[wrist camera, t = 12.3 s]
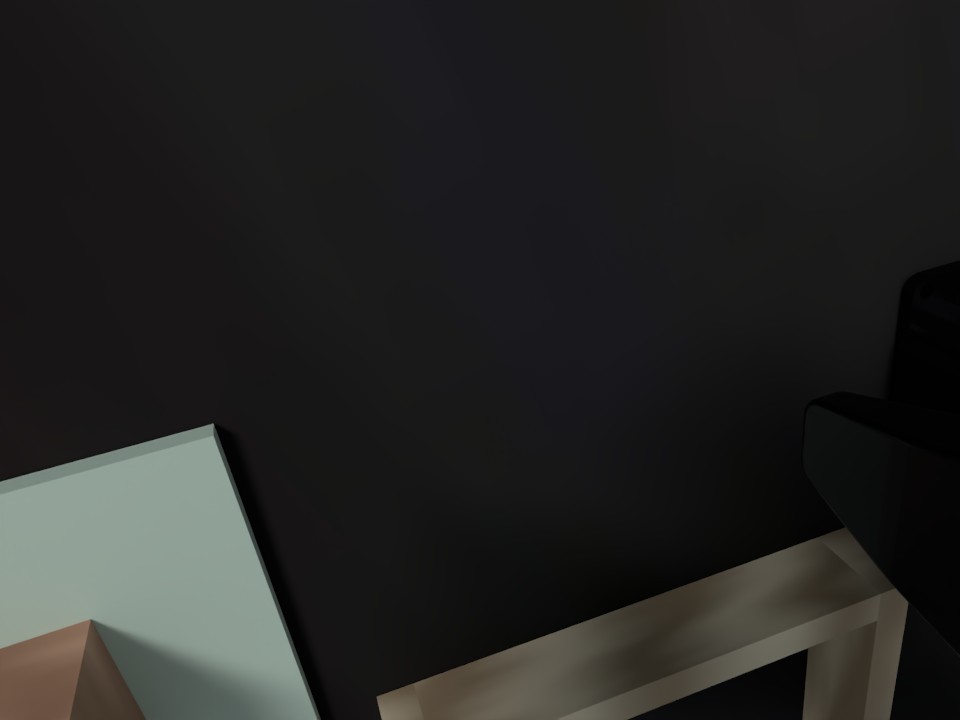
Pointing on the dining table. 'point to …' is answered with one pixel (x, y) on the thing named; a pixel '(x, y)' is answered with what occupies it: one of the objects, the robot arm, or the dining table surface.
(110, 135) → the dining table surface
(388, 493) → the dining table surface
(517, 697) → the pine frame
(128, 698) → the terracotta block
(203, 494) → the sage board
